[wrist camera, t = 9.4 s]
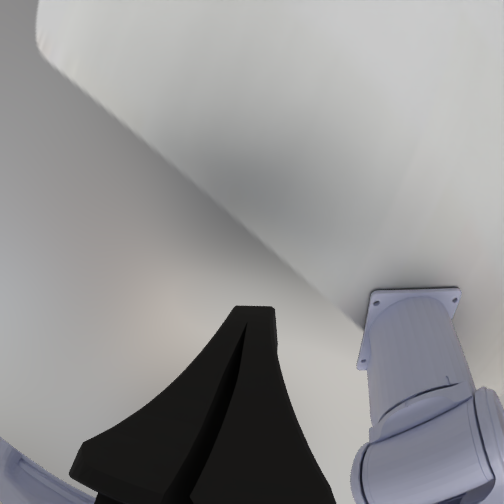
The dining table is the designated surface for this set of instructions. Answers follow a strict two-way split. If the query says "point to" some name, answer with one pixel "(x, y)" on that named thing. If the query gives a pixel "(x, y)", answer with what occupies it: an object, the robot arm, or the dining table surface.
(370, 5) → the dining table surface
